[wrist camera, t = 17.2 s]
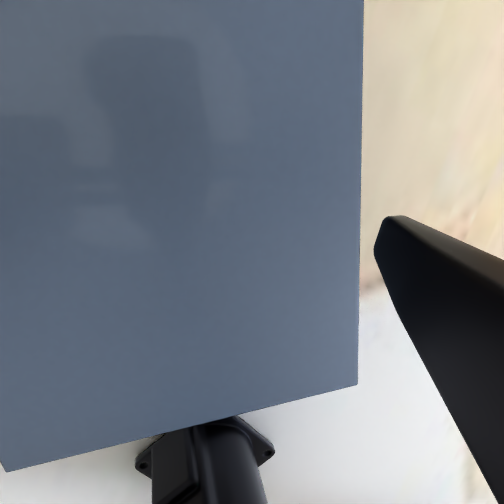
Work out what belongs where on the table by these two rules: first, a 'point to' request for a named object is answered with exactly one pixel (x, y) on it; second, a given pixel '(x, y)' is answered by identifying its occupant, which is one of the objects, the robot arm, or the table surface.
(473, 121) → the table surface
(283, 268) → the cabinet
